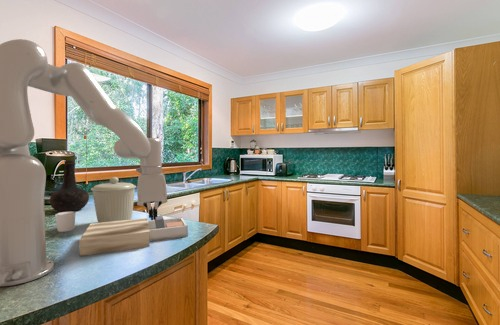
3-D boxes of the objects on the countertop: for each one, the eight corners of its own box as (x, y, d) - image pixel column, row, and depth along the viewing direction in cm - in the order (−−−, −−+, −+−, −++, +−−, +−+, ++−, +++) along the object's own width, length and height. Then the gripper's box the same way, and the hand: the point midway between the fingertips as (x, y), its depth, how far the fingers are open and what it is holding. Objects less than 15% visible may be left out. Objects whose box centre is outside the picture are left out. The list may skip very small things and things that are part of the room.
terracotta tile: (167, 227, 95) (167, 235, 95) (183, 225, 97) (183, 232, 98) (165, 223, 100) (165, 230, 100) (181, 221, 103) (181, 228, 103)
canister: (96, 220, 120) (95, 176, 119) (138, 216, 126) (137, 174, 125) (87, 231, 103) (85, 179, 102) (135, 226, 109) (134, 178, 108)
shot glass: (65, 232, 101) (64, 215, 101) (51, 231, 103) (50, 214, 102) (80, 227, 108) (79, 211, 108) (66, 226, 109) (66, 210, 109)
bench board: (149, 246, 86) (149, 231, 86) (79, 256, 78) (79, 240, 78) (147, 229, 104) (147, 217, 104) (90, 236, 96) (90, 223, 96)
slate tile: (157, 236, 94) (166, 233, 95) (154, 220, 93) (163, 218, 94) (156, 231, 99) (164, 229, 100) (153, 216, 99) (161, 215, 100)
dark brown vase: (51, 216, 128) (49, 161, 127) (48, 210, 141) (46, 160, 140) (92, 210, 140) (90, 160, 139) (86, 205, 153) (84, 159, 152)
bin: (187, 236, 96) (187, 225, 96) (149, 241, 91) (149, 230, 90) (181, 226, 109) (181, 217, 109) (148, 230, 103) (148, 220, 103)
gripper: (128, 173, 88) (131, 224, 89) (173, 170, 94) (174, 219, 95) (129, 171, 95) (131, 219, 96) (170, 169, 101) (172, 214, 102)
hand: (153, 219), depth 96 cm, fingers closed
